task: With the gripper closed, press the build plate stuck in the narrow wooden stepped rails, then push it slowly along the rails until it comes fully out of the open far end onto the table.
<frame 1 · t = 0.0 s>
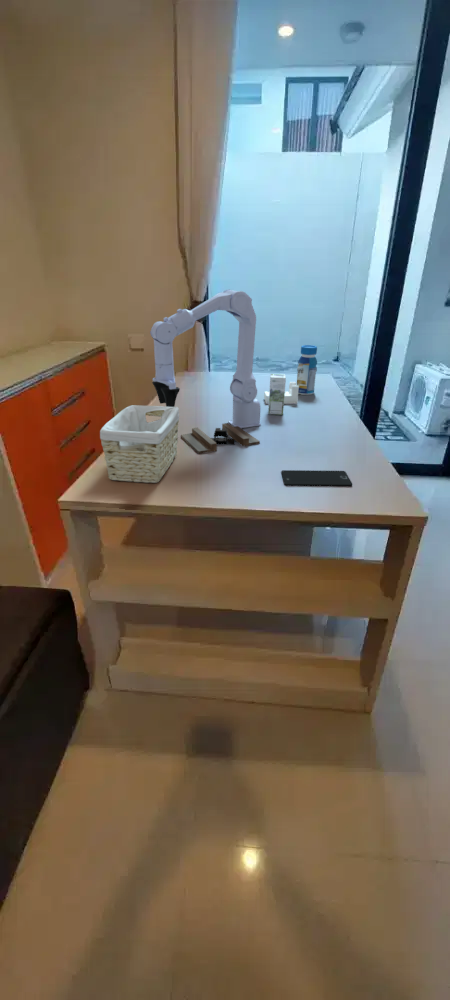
hand: (166, 406, 143), 10 cm above the table, tool pointing down, fingers open, 7 cm apart
beverage bottle: (304, 393, 196), on the table
bracket: (280, 402, 185), on the table
cell phone: (315, 480, 120), on the table
wooden stepped rails: (219, 440, 144), on the table
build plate: (220, 443, 144), on the table
syrup box: (275, 413, 170), on the table
storage basket: (146, 467, 126), on the table
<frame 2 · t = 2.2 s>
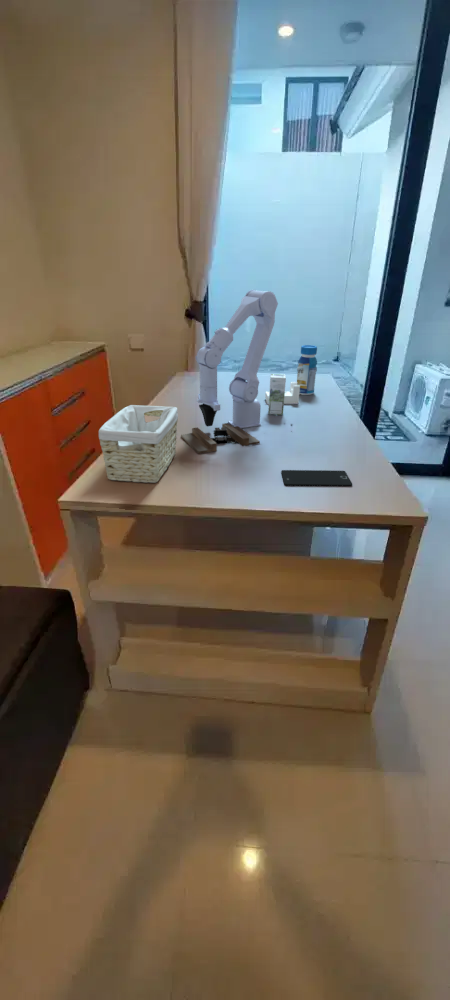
hand: (208, 425, 150), 2 cm above the table, tool pointing down, fingers closed
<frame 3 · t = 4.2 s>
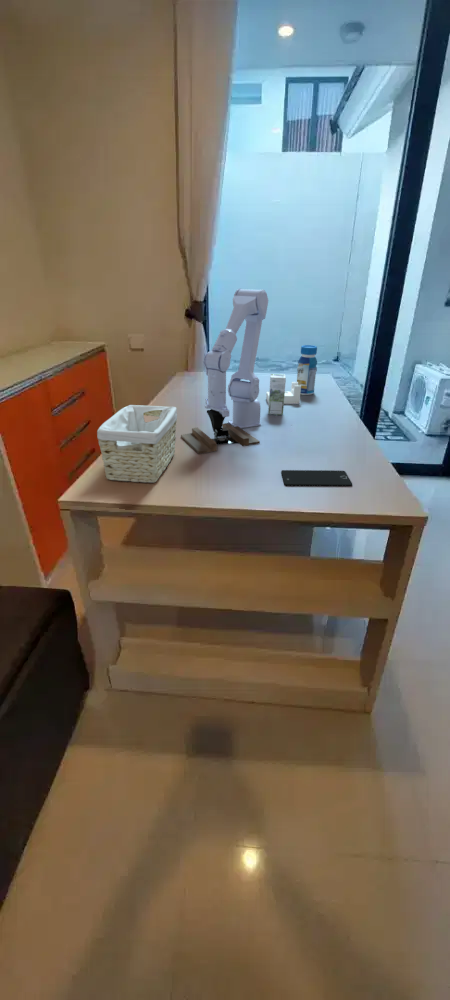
hand: (216, 431, 145), 2 cm above the table, tool pointing down, fingers closed
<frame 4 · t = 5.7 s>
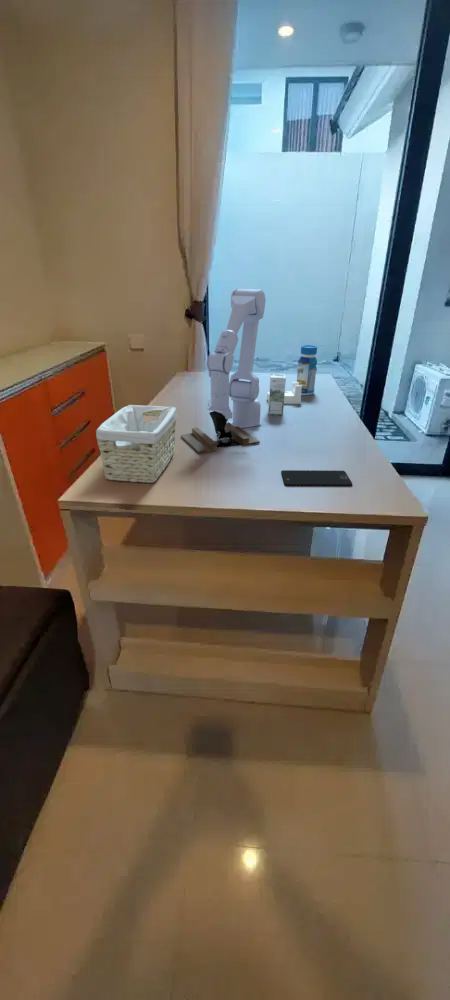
hand: (219, 433, 143), 2 cm above the table, tool pointing down, fingers closed
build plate: (224, 444, 142), on the table, touching gripper
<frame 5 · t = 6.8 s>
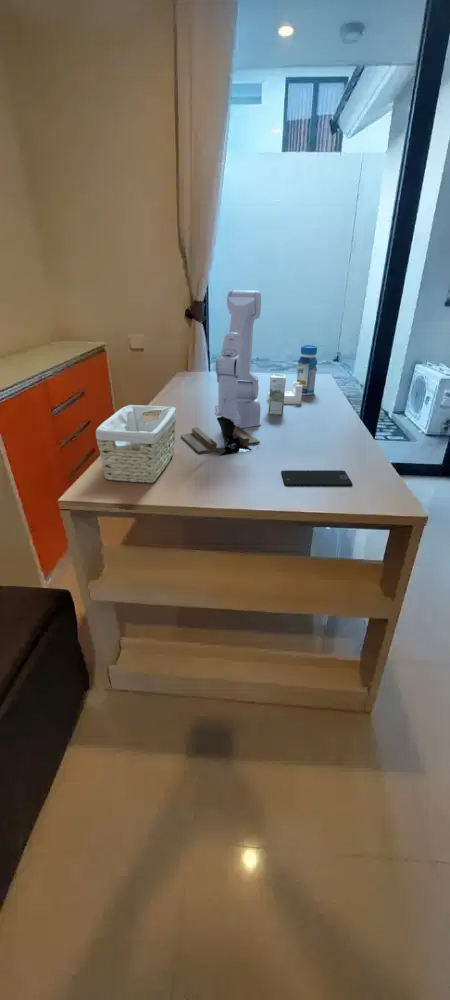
hand: (227, 439, 138), 2 cm above the table, tool pointing down, fingers closed
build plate: (231, 451, 138), on the table, touching gripper
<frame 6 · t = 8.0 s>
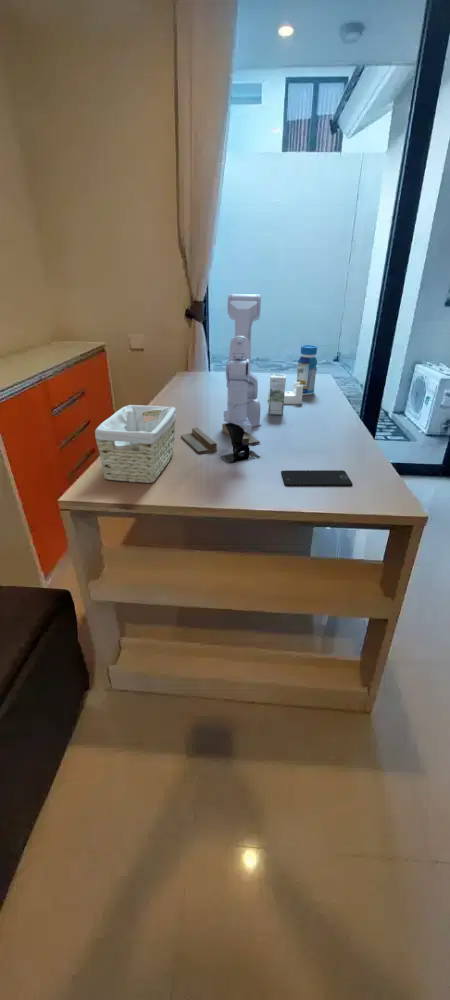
hand: (236, 446, 133), 2 cm above the table, tool pointing down, fingers closed
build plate: (240, 458, 133), on the table
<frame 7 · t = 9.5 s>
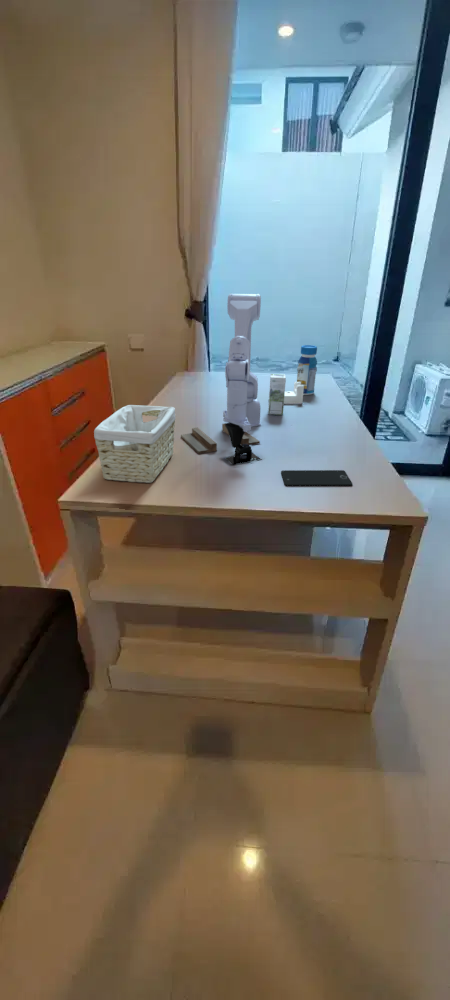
hand: (235, 446, 134), 2 cm above the table, tool pointing down, fingers closed
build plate: (243, 460, 131), on the table
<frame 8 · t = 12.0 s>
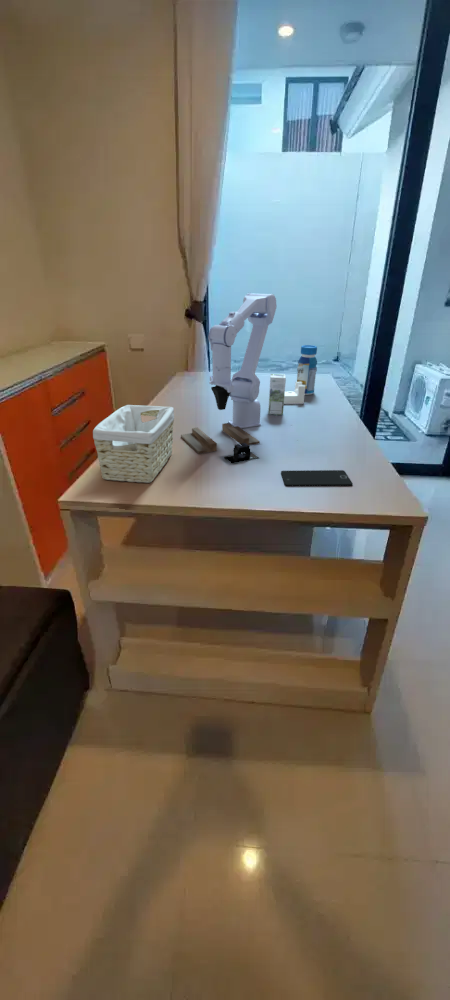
hand: (221, 409, 143), 9 cm above the table, tool pointing down, fingers closed
at the end: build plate inside the target area (2.7 cm from its centre), on the table; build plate tilted 0°; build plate moved 14.8 cm from its start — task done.
